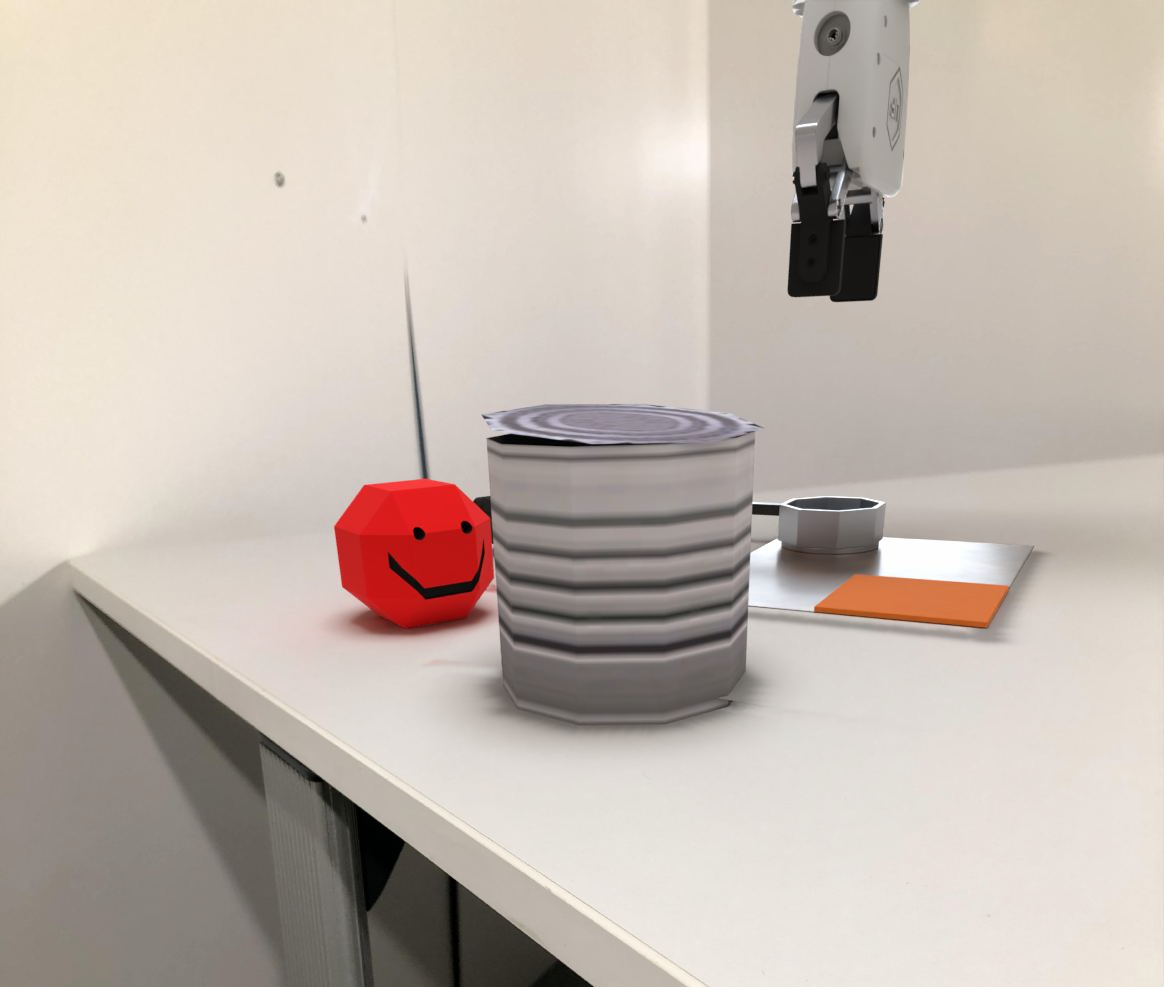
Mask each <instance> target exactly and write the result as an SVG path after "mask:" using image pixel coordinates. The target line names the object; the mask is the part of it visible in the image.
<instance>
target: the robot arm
mask: <svg viewBox="0 0 1164 987" xmlns="http://www.w3.org/2000/svg"><path fill="white" fill-rule="evenodd" d="M921 1H922V0H792V4H791V6H792V7H791V9H792V12H793V13H794V14H795V15H796V17H797V16H798V17H799V18H801V19H802V20H801V28H800V37H799V45H798V54H797V56H798V57H797V65H796V66H797V67H796V76H795V88H794V98H793V99H794V100H793V114H792V129H791V175H792V179H793V180H792V184H793V185H794V189H795V193H794V195H793V199H792V202H791V206H790V207H791V208H790V217H791V218H790V219H791V222H792V223H790V241H789V258H788V273H787V274H788V275H787V295H788V297H791V298H814V297H829V301H831V302H832V303H851V302H872V301H875V300H876V299H877V297H878V293H879V292H878V291H879V281H880V272H881V271H880V270H881V260H882V251H883V250H882V249H883V237H884V234H883V231H884V224H885V220H884V208H885V203H886V201H885V197H886V198H894V197H896V195H897V194H898V193H899V192H900V191H901V190H902V187H903V180H904V166H905V165H904V164H905V148H906V132H907V118H908V102H909V101H908V99H909V85H910V84H909V83H910V82H909V80H910V56H911V53H910V52H911V23H910V22H911V21H910V18H911V17H910V9H911V8H913V7H914V6H915V7H916V5H918V4H919V3H921ZM851 205H852V209H851V207H850V206H851Z"/></svg>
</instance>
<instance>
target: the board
mask: <svg viewBox="0 0 1164 987" xmlns="http://www.w3.org/2000/svg"><path fill="white" fill-rule="evenodd" d="M1034 548H1035V546H1034V545H1029V544H1012V543H992V542H975V541H974V542H973V541H957V540H942V539H941V540H939V539H924V538H923V539H921V538H920V539H919V538H902V537H887V536H883V539H882V540H880V541H879V546H878V548H876V549H874V550H871V551H867V552H861V553H852V554H814V553H804V552H797V551H792V550H789V549H786V548H784V547H782V545H781V541H779V540H778V537H777V538H775V539H774V540H771V541H770V542H768V543H766V544H764V545H762V546H760V547H759V548H757V549H754V550H753V551H750V575H749V600H748V608H760V609H771V610H781V611H782V610H783V611H790V612H791V611H792V612H803V613H811V614H812V613H813V614H823V615H835V616H843V617H844V616H845V617H846V616H847V617H856V618H865V619H866V618H867V619H876V620H886V621H887V620H888V621H897V622H907V623H909V622H910V623H920V624H930V625H940V626H941V625H942V626H951V627H963V628H973V629H983V630H987V628H989V627H990V624H991V622H992V621H993V619H994V617H995V615H996V613H997V612H998V611H999V608H1000V606H1001V605H1002V603H1003V602H1004V599H1005V598H1006V596H1007V595H1008V592H1010V590H1011V588H1012V585H1013V584H1014V582H1015V581H1016V579H1017V577H1018V575H1019V574H1020V572H1021V570H1022V568H1023V567H1024V565H1025V563H1026V561H1027V560H1028V558H1029V557H1030V554H1031V553H1032V551H1033V550H1034ZM855 574H860V575H873V576H887V577H900V578H914V579H927V580H941V581H954V582H968V583H981V584H995V585H1008V586H1009V590H1008V592H1007V593H1006V595H1005V597H1004V599H1003V600H1002V602H1001V604H1000V606H999V607H998V609H997V611H996V612H995V614H994V616H993V618H992V619H991V621H990V623H989V625H988V626H987V628H983V627H973V626H962V625H951V624H941V623H930V622H919V621H909V620H898V619H887V618H876V617H866V616H855V615H844V614H834V613H823V612H814V607H815V606H816V605H817V604H818V603H820V602H821V601H822V600H823V599H825V598H826V597H827V596H828V595H830V594H831V593H832V592H833V591H835V590H836V589H837V588H838V587H840V586H841V585H842V584H843V583H845V582H846V581H847V580H849V579H850V578H851V577H852V576H854V575H855Z"/></svg>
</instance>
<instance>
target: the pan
mask: <svg viewBox="0 0 1164 987" xmlns="http://www.w3.org/2000/svg"><path fill="white" fill-rule="evenodd" d="M886 505H887V502H885V501H882V500H881V501H880V500H875V499H872V498H867V497H859V496H858V497H856V496H831V495H830V496H829V495H824V496H812V497H811V496H810V497H800V498H799V497H797V498H791V499H789V500H786V501H784V502H761V501H752V516H772V517H774V516H775V517H778V528H777V529H778V530H777V538H778V540H779V541H781V545H782V547H784V548H786V549H789V550H792V551H797V552H804V553H814V554H852V553H861V552H867V551H871V550H874V549H876V548H878V546H879V541H880V540H882V539H883V537H884V527H885V516H886Z"/></svg>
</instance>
